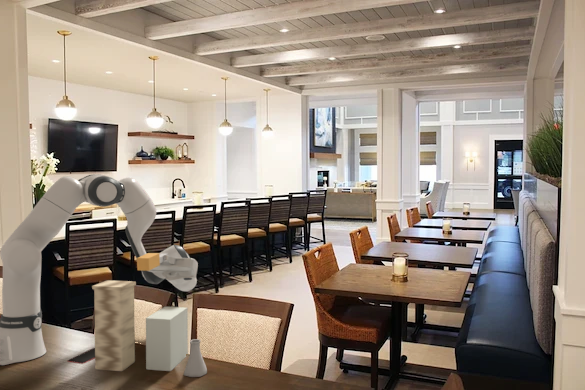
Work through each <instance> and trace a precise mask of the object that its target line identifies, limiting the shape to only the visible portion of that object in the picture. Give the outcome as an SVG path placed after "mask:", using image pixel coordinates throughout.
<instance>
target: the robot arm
mask: <svg viewBox="0 0 585 390" xmlns="http://www.w3.org/2000/svg"><path fill="white" fill-rule="evenodd" d="M83 203H87V204H90V205H93V206H96V207H100V208H101V207H102V208H103V207H104V208H105V207H111V206H112V205H117V206H118V207H119V208H120V211H122V213H123V215H124V216H125V217H126V223H127V224H126V226H125V228H124V229H125V234H126V237H127V239H128V242H129V243H128V244H129V245H130V247H131V250H132V253H133V254H134V256H135V258H136V259H137V258H138V257H140V256H143V255H145V254H147V252H146V249H145V247H144V244H143V242H142V238H143V236H144V234H145V233H146V232H147V231H148V229H149V228H150V227H151V225H152V224H153V223H154V221H155V220H156V217H157V208H156V205H155V204H154V201H153V200H152V198H151V197H150V195H149V194H148V193H147V192H146V190H145V189H144V187H143V186H142V185H141V184H140V183H139V182H138V181H137V180H136V179H135V178H133V177H124V178H121V179H120V180H116V179H115V178H113V177H110V176H106V175H105V174H96V173H95V174H94V173H93V174H88V175H86V176H84V177H81V178H79V179H77V178H74V177H72V176H66V175H65V176H62V177H60V178H58V180H56V181H55V182H54V183H53V184H52V185H51V186H50V187H49V188H48V189H47V191H46V192H45V193H43V196H42V197H40V199H39V201H37V203H36V204H35V206H34V207H33V208H32V209H31V211H30V212H29V214H28V215H27V216H26V217H25V218H24V220H22V222H21V223H20V224H19V225H18V226H17V228H15V230H14V231H13V232H12V233H11V234H10V236H9V237H8V238H7V240H6V241H5V242H4V243H3V245H2V246H1V248H0V258H1V262H2V287H1V288H2V289H1V294H2V295H1V297H2V304H1V305H2V309H1V310H2V314H0V366H5V365H9V364H15V363H21V362H26V361H30V360H34V359H37V358H38V359H39V358H40V357H42V356H43V355H45V354H46V353H47V349H46V346H45V345H46V344H45V341H44V338H43V332H42V331H43V330H42V323H43V319H42V318H43V314H42V313H43V311H42V309H41V281H42V280H41V278H42V277H41V276H42V259H43V258H42V251H43V250H44V249H45V248H46V247H47V245H49V244H50V242H51V241H52V240H53V239H54V238H55V237H56V236H57V235H58V234H59V233H60V232H61V230H62V228H64V226H65V225H66V224H67V222H68V221H69V219H70V218H71V216H72V215H73V213H74V212H75V211H76V209H77V208H78V207H79V206H80V205H81V204H83ZM158 253H159V255H160V254H162V253H164V254H168V255H164V258H163V260H164V262H162V263H160V265H159V266H157V267H155V268H153V269H151V270H150V271H143V270H140V271H141V275H142V277H143V278H144V280H145V281H146V282H147V283H148V284H152V285H159V284H160V283H161V282H163V281H164V280H167V282H169V283H170V284H172V286H174V287H175V288H176V289H177V290H179V291H182V292H190V291H192V290H193V289H194V288H195V287H196V285H197V283H198V282H197V281H198V279H197V274H198V267H199V265H198V264H199V263H198V261H197V260H196V259H195V258H192V257H190V254H188V252H187V251H186V249H184V248H183V246H181V245H178V244H173V245H171V246H168V247H167V248H165V249H164V250H162V251H161V252H158Z"/></svg>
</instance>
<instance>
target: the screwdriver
mask: <svg viewBox="0 0 585 390" xmlns="http://www.w3.org/2000/svg"><path fill="white" fill-rule="evenodd" d="M146 253H147V252H146ZM159 253H160V252H148V253H147V254H145V255H143V256H140V257H138V258H136V265H137V267H136V268H137V271H141V270H143V271H150V270H151V269H153V268H155V267H157V266H159V265H160V263H162V262H164V260H163V258H164V255H168V254H164V253H162V254H160V255H159Z"/></svg>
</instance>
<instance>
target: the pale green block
mask: <svg viewBox="0 0 585 390" xmlns="http://www.w3.org/2000/svg"><path fill="white" fill-rule="evenodd" d="M188 311H189V308H188V307H183V306H182V307H180V306H163V307H162V308H159V309H158V310H157V311H155V312H153V313H152V314H151V315H149V316H147V317H145V360H146V361H145V362H146V363H145V368H146V369H145V370H149V371H150V370H152V371H163V372H164V371H166V372H171V371H173V370H174V369H175V368H176V367H177V366H178V365H179V364H180V363H181V362H182V361H183V360H184V359H185V358H186V357H187V356H186V354H188V355H189V345H188V344H189V343H188V342H189V338H188V337H189V335H188V334H189V333H188V332H189V331H188V330H189V328H188V327H189V326H188V325H189V324H188V323H189V321H188V320H189V319H188V317H189V316H188V315H189V313H188Z"/></svg>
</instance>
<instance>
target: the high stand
mask: <svg viewBox="0 0 585 390" xmlns="http://www.w3.org/2000/svg"><path fill="white" fill-rule="evenodd" d="M136 285H137V282H136V281H132V280H131V281H130V280H129V281H128V280H111V279H110V280H109V279H108V280H104V281H102V282H99V283H96V284H94V285H91V288H92V290H93V291H94V293H93V294H94V297H93V299H94V306H93V307H94V348H95V358H94V360H95V361H94V363H95V364H94V365H95V368H94V369H95V370H100V371H114V372H123V371H125V370H126V369H127V368H128V367H130V366H131V365H133V364H134V363H135V361H136V355H135V354H136V352H135V350H136V347H135V346H136V345H135V344H136V343H135V341H136V340H135V338H136V337H135V336H136V335H135V286H136Z"/></svg>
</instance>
